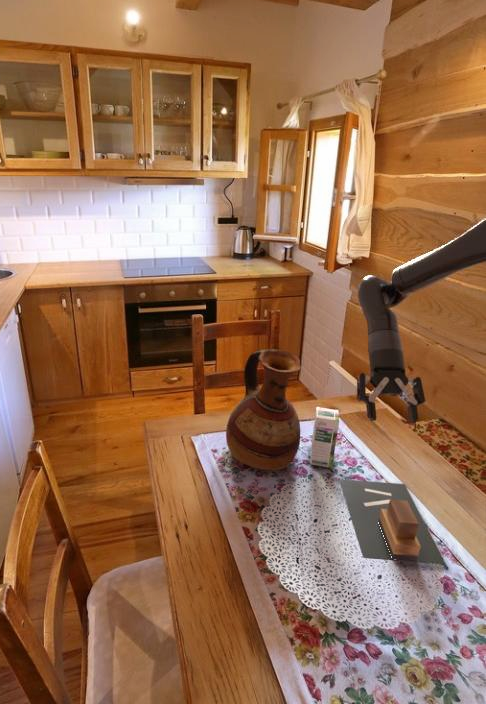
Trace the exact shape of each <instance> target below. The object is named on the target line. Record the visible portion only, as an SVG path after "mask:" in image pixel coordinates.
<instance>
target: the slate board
mask: <svg viewBox="0 0 486 704" xmlns="http://www.w3.org/2000/svg"><path fill="white" fill-rule="evenodd" d="M338 480H339V484H340V487H341V492H342V493H343V497H344V500H345V504H346V507H347V510H348V513H349V516H350V520H351V523H352V526H353V530H354V532H355V536H356V539H357V542H358V546H359V548H360V552H361V555H362V558H364V559H374V560H385V561H387V560H388V561H393V560H392V558H391V555H390V553H389V550H388V548H387V545H386V542H385V540H384V537H383V535H382V532H381V529H380V527H379V524H378V521H379V517H380V512H381V509H388V505H389V501H390V500H402V501H408V503H409V505H410V507H411V509H412V511H413V513H414V515H415V517H416V519H417V522H418V524H419V525H418V529H417V533H416V537H417V539H418V542H419V544H420V546H421V548H420V552H419V555H418V559H417V562H416V563H422V564H435V565H446V561H445V560H444V557H443V556H442V554H441V552H440V550H439V548H438V546H437V544H436V542H435V541H434V538H433V536H432V535H431V533H430V531H429V528H428V527H427V525H426V523H425V521H424V519H423V517H422V515H421V513H420V511H419V509H418V507H417V506H416V504H415V501H414V500H413V497H412V495H411V494H410V492H409V490H408V488H407V486H406V484H405V483H397V482H396V483H395V482H381V481H380V482H379V481H367V480H354V479H353V480H352V479H342V478H341V479H338ZM396 561H398V562H399V561H400V562H403V561H402V560H396ZM408 562H409V563H415V562H414V561H408Z"/></svg>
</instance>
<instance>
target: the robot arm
mask: <svg viewBox="0 0 486 704" xmlns="http://www.w3.org/2000/svg"><path fill="white" fill-rule="evenodd" d="M483 263H484V264H485V263H486V217H484V218H483V219H482V220H480V221H479V222H477V223H476V224H475V225H473V226H472V227H470V228H469V229H468V230H466V231H465V232H463V233H462V234H460V235H459V236H458V237H456V238H454V239H453V240H451V241H449V242H448V243H446V244H444V245H442V246H440V247H437V248H436V249H433V250H431V251H429V252H426V253H424V254H422V255H421V256H418V257H416V258H413V259H412V260H410V261H408V262H406V263H403V264H402V265H400V266H398V267H396V268H395V269H394V270H393V271H392V273H391V276H390V280H391V281H390V280H387V279H386V278H385V279H384V278H382V277H379V276H377V275H367V276H365V277H364V278H363V279H362V280H361V281H360V282H359V284H358V287H357V288H358V289H357V298H358V302H359V304H360V308H361V310H362V312H363V316H364V318H365V320H366V324H367V339H368V340H367V352H368V361H369V371H370V375H368V374H365V373H364V372H362V373H360V374H358V376H356V399H357V401H358V402H362V403H365V407H366V416H367V418H368V419H369V421H370V422H375V421H377V410H376V409H377V407H376V402H374V401H376V399H377V397H378V396H379V395H381V396H383V397H385V396H390V397H398V398H399V399H400V400H402V401H403V402H404V404H406V405H407V407H406V409H407V418H408V419H407V420H408V424H409V425H414V424H416V423H417V421H418V420H419V413H418V406H420V405H422V404H424V403H425V402H426V397H425V391H424V386H423V383H422V378H421V377H420V376H416V377H408V376H407V375H406V365H405V357H404V351H403V342H402V338H401V334H400V327H399V321H398V316H397V313H395V312H394V311H393V310H391V309H392V308H395V307H397V306H398V305H400V304H401V303H402V302H404V301H405V300H406V299H408V298H409V297H410V296H411V295H412V294H414V293H417V292H419V291H421V290H424V289H426V288H428V287H429V288H430V287H431V286H433V285H435V284H437V283H439V282H442V281H443V280H445V279H447V278H449V277H450V276H453V275H454V274H456V273H458V272H461V271H463V270H466V269H467V268H471V267H473V266H477V265H481V264H483ZM368 383H370V384H371V385H372V386H373V389H372V390H371V392H370V393H369V395H367V393H366V391H367V390H366V389H367V387H366V385H367V384H368ZM408 385H409V386H410V388H412V392H411V391H410V390H409V388H408V387H407V386H408ZM412 394H413V395H412Z"/></svg>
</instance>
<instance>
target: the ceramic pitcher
mask: <svg viewBox="0 0 486 704" xmlns="http://www.w3.org/2000/svg"><path fill="white" fill-rule="evenodd" d="M259 364H260V365H261V366H262V367H263V369H264V378H263V383H262V385H261V387H259V383H258V366H259ZM301 369H302V368H301V361H300V358H299V357H298V356H296V354H293V353H291V352H290V351H286V350H282V349H276V348H272V349H262V350H257V351H254V352H252V353H251V354H249V356H248V358H247V360H246V362H245V365H244V369H243V379H244V387H245V393H244V396H243V397H242V398H241V400H239V402H238V403H237V404H236V406H235V407H234V408H233V409H232V411H231V413H230V415H229V417H228V420H227V424H226V430H225V440H226V446H227V448H228V450H229V452H230V454H231V455H232V456H233V457H234V458H235V459H236V460H237V461H238V462H240V463H242V464H244V465H245V466H249V467H252V468H254V469H255V468H256V469H258V470H265V471H266V470H269V471H275V470H277V471H278V470H281V469H285V468H286V467H288V466H289V465H290V464H291V463H292V462H293V461H294V459H295V457H296V455H297V454H298V450H299V448H300V442H301V423H300V419H299V415H298V413H297V411H296V408H295V407H294V405H293V404H292V402H291V401H290V400H289V399H288V398H287V396H286V393H287V392H286V391H287V387H288V386H289V381H290V379H291V377H292V376H293V375H294V374H296V373H298V372H300V371H301Z"/></svg>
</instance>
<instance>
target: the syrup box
mask: <svg viewBox="0 0 486 704" xmlns="http://www.w3.org/2000/svg"><path fill="white" fill-rule="evenodd" d="M339 425H340V413H339V409H332V408H325V407H321V406H316V408H315V415H314V422H313V429H312V438H311V445H310V457H309V465H310V466H319V467H323V468H328V469H332V468H333V465H334V457H335V451H336V445H337V440H338V439H337V438H338V432H339Z"/></svg>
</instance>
